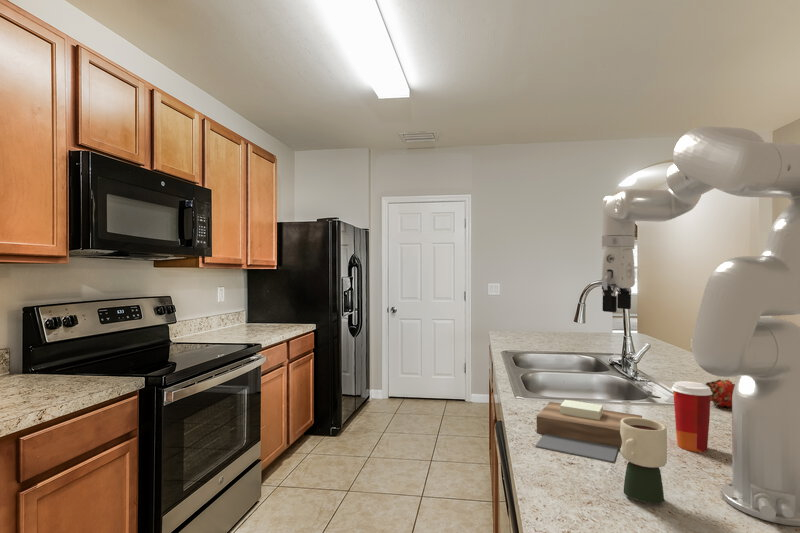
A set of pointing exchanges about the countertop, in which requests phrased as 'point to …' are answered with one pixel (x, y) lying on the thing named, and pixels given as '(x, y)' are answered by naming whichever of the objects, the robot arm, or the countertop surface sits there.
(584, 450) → the mat
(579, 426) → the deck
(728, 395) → the dragon fruit
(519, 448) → the countertop surface
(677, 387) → the paper cup
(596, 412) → the cream rectangular block
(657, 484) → the character mug
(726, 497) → the robot arm
